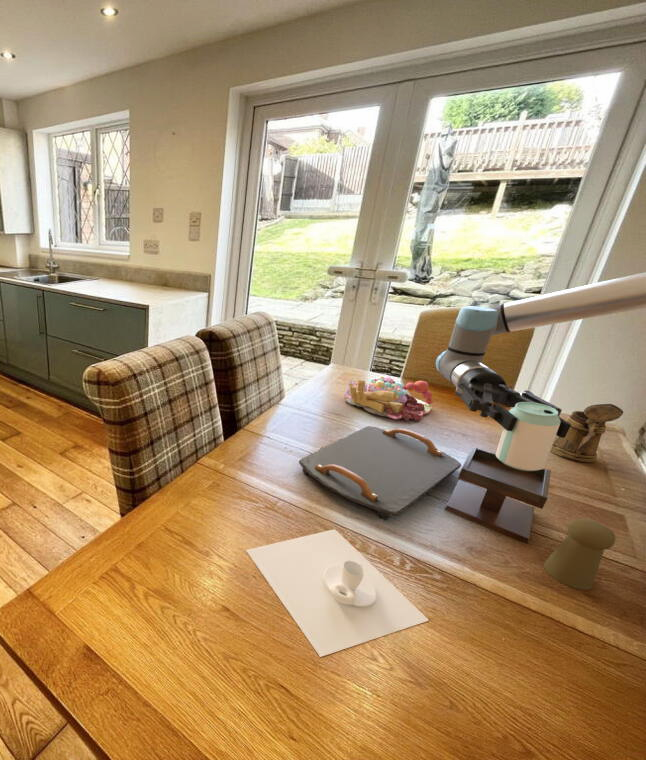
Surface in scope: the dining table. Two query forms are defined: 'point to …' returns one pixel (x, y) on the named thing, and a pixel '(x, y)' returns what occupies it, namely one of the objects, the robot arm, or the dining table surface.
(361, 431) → the serving tray
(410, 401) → the candy landscape model
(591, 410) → the wooden mug
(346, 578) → the teacup and saucer
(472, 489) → the brown pedestal stand
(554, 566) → the cork
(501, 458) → the can
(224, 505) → the dining table surface
